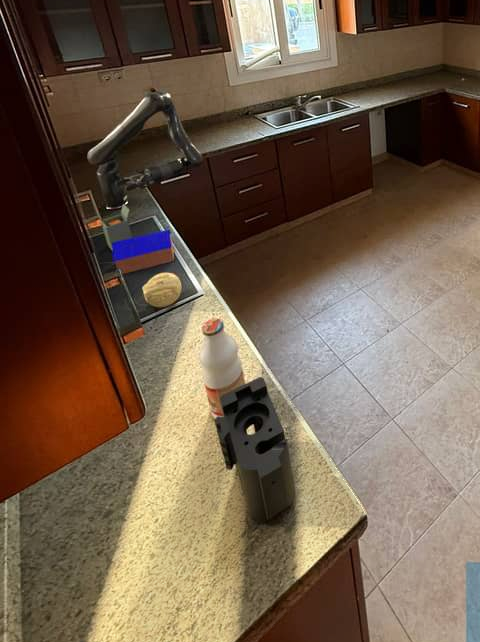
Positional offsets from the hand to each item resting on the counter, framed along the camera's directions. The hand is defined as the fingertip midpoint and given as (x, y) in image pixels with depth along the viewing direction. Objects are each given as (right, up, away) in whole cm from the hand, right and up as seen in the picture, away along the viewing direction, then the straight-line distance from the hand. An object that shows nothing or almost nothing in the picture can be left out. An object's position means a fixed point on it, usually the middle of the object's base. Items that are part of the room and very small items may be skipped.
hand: (121, 186), depth 181 cm
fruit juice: (+72, -54, -66) cm, 112 cm away
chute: (-3, -26, +5) cm, 27 cm away
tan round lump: (+34, -39, -28) cm, 59 cm away
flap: (0, -11, +3) cm, 11 cm away
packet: (-3, -26, +5) cm, 26 cm away
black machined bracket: (+87, -61, -85) cm, 136 cm away
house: (+14, -30, -5) cm, 34 cm away
